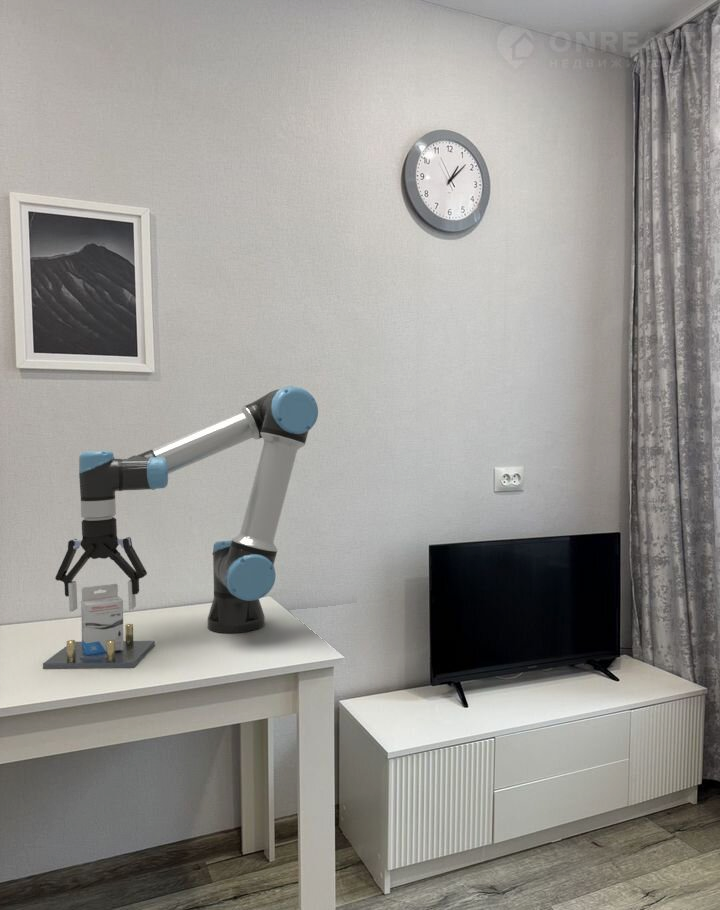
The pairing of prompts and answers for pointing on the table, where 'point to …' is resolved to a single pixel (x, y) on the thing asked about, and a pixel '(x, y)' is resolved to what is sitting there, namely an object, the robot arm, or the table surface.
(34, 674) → the table surface
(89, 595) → the ink box
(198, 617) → the table surface
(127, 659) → the plate
